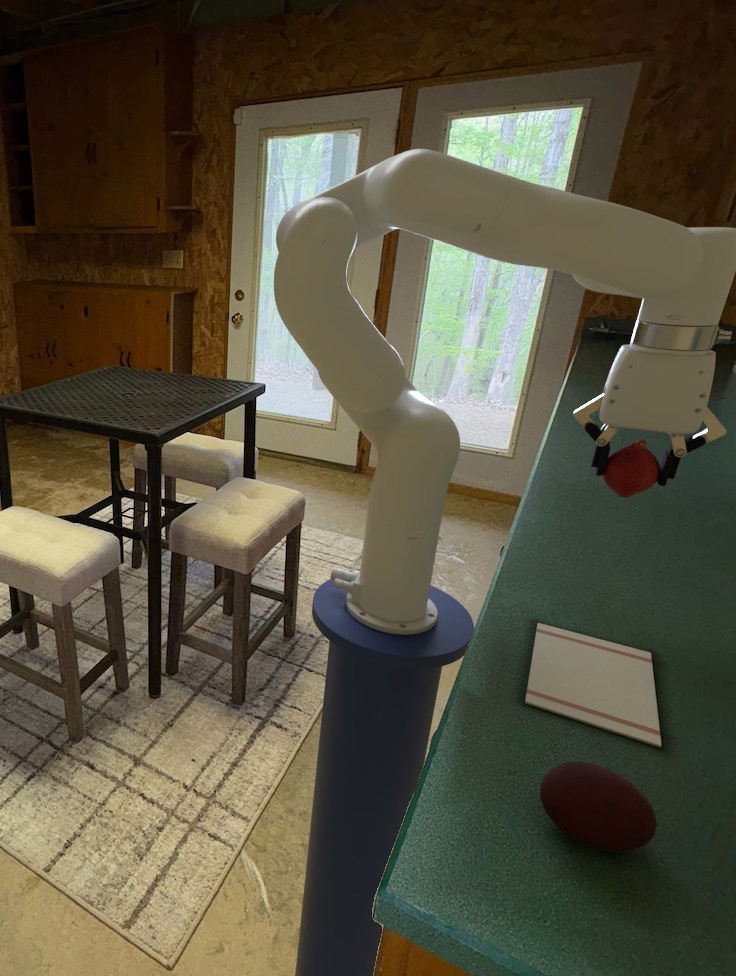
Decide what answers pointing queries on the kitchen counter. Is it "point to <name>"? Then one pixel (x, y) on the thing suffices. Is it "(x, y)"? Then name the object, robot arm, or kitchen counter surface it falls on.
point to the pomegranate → (631, 469)
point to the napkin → (594, 683)
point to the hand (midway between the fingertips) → (629, 476)
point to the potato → (597, 807)
